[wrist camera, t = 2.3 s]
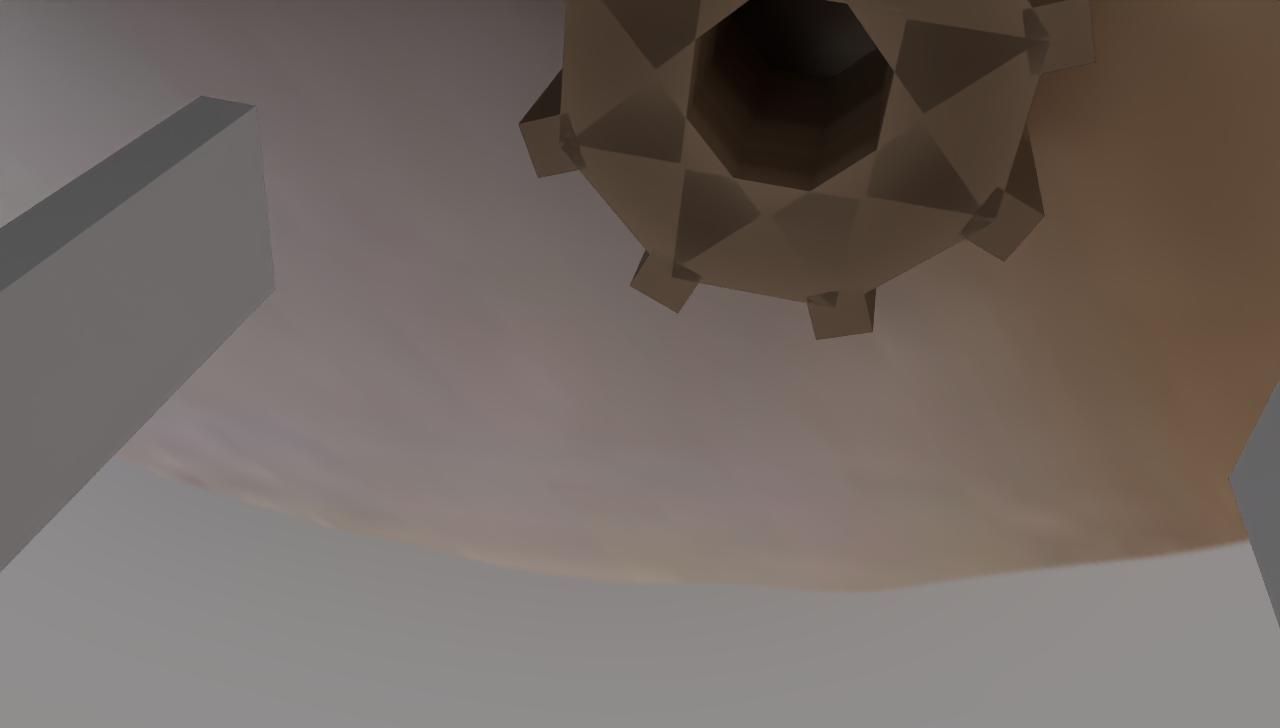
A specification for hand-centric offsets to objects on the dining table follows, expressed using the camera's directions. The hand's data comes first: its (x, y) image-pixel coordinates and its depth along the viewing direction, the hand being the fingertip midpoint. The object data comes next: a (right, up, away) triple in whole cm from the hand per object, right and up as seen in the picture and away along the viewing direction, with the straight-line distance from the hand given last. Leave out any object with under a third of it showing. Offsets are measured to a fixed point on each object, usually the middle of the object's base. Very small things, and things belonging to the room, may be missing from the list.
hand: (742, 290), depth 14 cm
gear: (+3, +7, +10) cm, 13 cm away
